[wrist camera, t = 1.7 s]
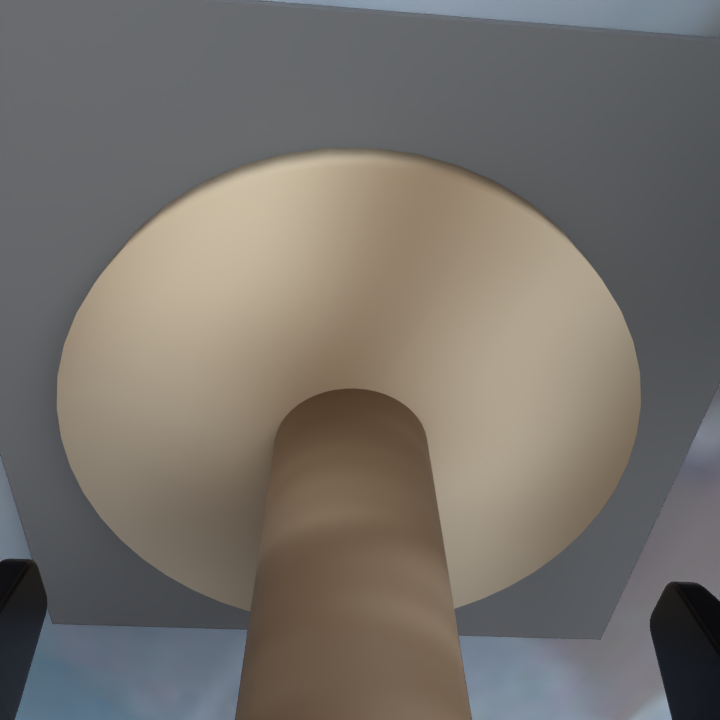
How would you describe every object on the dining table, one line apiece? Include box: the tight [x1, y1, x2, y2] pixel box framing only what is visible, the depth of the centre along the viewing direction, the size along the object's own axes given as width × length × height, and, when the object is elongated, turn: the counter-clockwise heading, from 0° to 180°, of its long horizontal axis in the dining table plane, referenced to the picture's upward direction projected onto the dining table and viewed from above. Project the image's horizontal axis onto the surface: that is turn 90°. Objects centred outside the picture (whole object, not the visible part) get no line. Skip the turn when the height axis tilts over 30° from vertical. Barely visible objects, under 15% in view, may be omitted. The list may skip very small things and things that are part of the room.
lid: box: [57, 148, 641, 720], centre depth 10 cm, size 10×10×7 cm
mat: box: [0, 0, 720, 640], centre depth 13 cm, size 14×14×1 cm
